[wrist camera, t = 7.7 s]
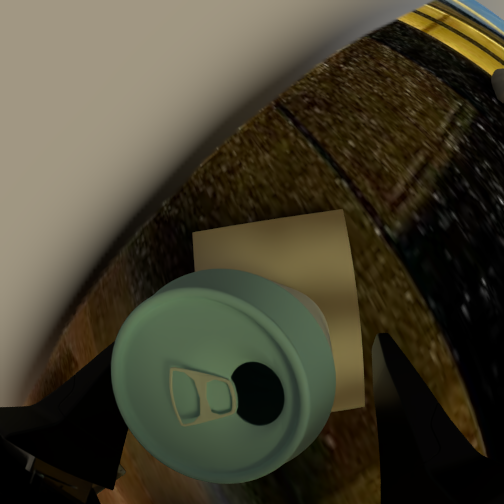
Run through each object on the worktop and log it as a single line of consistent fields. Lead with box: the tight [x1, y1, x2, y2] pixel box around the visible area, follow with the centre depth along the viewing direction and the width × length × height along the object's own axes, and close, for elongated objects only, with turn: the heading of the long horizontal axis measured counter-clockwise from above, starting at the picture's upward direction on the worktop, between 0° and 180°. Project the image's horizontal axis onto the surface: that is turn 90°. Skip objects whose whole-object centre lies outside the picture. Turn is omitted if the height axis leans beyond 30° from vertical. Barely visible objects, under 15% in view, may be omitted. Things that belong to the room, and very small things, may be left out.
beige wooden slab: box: [193, 209, 365, 412], centre depth 19 cm, size 14×11×2 cm
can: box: [111, 269, 336, 484], centre depth 12 cm, size 7×7×12 cm
